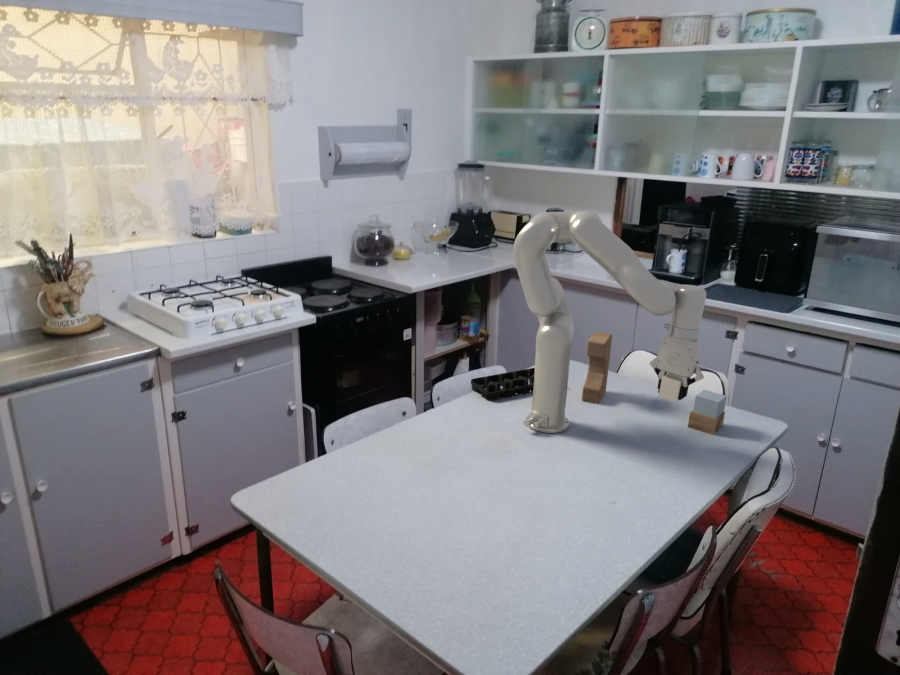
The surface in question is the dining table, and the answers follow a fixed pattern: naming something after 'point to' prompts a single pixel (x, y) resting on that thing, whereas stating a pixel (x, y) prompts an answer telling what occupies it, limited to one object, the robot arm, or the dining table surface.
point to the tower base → (705, 422)
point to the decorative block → (597, 367)
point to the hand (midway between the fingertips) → (671, 394)
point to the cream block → (670, 387)
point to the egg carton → (504, 384)
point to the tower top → (709, 403)
